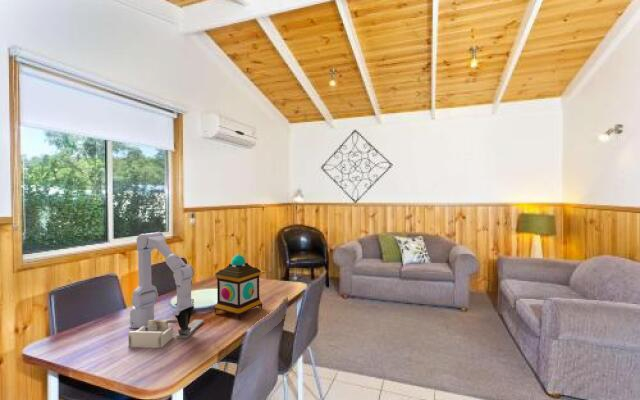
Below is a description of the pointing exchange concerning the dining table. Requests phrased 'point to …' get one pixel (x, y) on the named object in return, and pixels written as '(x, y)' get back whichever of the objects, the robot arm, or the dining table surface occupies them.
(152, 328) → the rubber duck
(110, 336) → the dining table surface
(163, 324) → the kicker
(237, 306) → the decorative lantern
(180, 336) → the rail
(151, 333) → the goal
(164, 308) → the dining table surface
